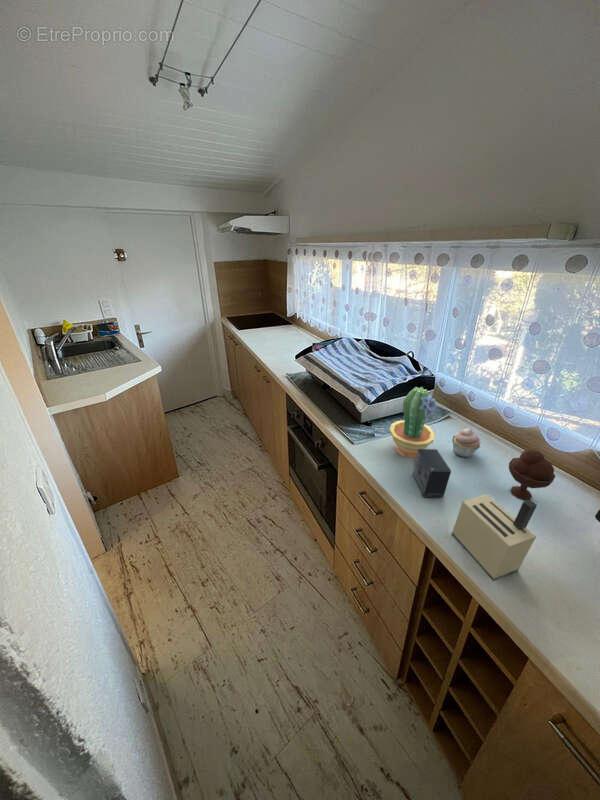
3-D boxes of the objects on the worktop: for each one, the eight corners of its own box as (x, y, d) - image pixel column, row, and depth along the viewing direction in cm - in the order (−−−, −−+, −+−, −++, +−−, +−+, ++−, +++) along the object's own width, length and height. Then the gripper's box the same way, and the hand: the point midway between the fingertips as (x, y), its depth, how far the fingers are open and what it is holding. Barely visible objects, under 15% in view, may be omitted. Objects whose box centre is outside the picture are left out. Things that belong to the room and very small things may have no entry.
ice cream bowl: (494, 493, 92) (510, 453, 85) (507, 475, 99) (523, 438, 92) (535, 513, 85) (556, 472, 78) (546, 493, 92) (567, 454, 85)
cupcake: (480, 462, 105) (488, 438, 100) (451, 458, 107) (457, 434, 102) (474, 446, 113) (481, 423, 108) (447, 442, 115) (453, 420, 110)
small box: (445, 498, 91) (453, 471, 86) (423, 498, 91) (430, 471, 86) (431, 473, 100) (437, 448, 95) (411, 474, 100) (417, 448, 95)
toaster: (474, 526, 82) (486, 493, 76) (518, 570, 71) (536, 536, 65) (451, 534, 80) (462, 500, 74) (493, 580, 69) (509, 546, 63)
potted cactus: (389, 461, 106) (399, 398, 94) (384, 435, 120) (393, 377, 108) (435, 465, 104) (452, 400, 92) (425, 438, 118) (439, 379, 106)
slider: (519, 522, 68) (530, 499, 65) (526, 527, 67) (537, 505, 64) (512, 524, 68) (523, 501, 65) (519, 530, 67) (530, 507, 63)
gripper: (806, 581, 38) (635, 487, 53) (747, 618, 35) (582, 506, 49) (763, 614, 42) (614, 517, 56) (706, 650, 38) (563, 537, 53)
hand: (599, 512), depth 53 cm, fingers closed
